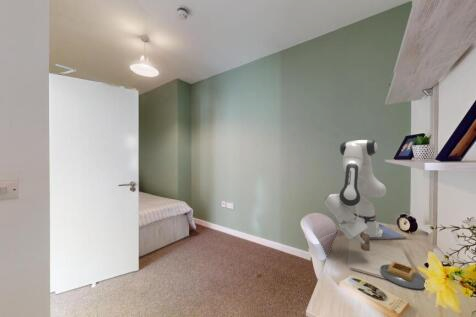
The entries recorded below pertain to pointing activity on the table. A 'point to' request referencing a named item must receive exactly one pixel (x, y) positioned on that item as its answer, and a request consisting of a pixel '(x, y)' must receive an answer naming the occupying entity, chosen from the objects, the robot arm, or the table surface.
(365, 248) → the walnut post
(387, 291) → the table surface
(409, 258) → the table surface
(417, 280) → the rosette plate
